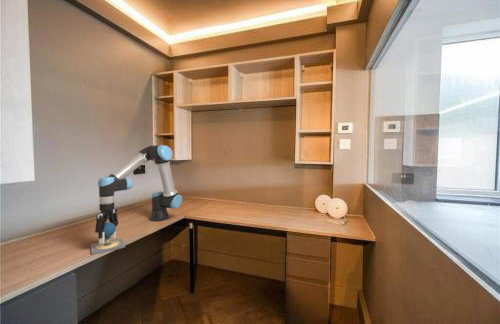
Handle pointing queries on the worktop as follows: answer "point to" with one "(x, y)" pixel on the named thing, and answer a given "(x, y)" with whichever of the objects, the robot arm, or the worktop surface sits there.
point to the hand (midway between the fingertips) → (107, 240)
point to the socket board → (107, 246)
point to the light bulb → (108, 230)
